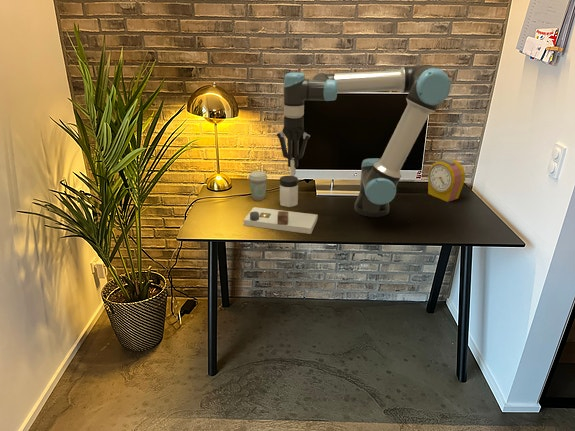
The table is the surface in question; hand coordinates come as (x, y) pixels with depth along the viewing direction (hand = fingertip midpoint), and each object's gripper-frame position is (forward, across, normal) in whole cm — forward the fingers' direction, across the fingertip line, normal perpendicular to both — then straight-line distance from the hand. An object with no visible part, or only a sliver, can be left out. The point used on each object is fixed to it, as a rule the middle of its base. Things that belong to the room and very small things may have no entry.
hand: (292, 174), depth 181 cm
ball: (+19, +11, +3) cm, 22 cm away
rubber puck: (+18, +14, +8) cm, 24 cm away
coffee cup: (+21, +21, -19) cm, 35 cm away
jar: (+21, +6, -17) cm, 27 cm away
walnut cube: (+18, +2, +8) cm, 20 cm away
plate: (+20, +4, +3) cm, 21 cm away
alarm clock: (+21, -62, -45) cm, 79 cm away
